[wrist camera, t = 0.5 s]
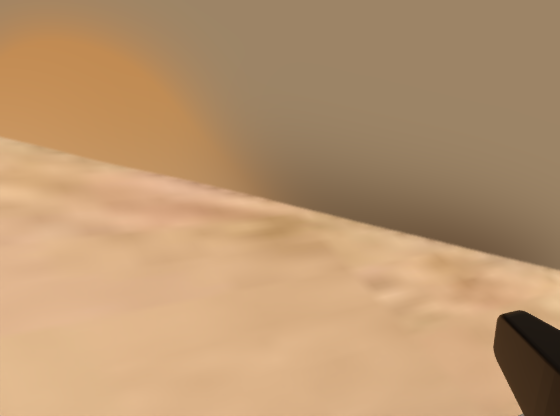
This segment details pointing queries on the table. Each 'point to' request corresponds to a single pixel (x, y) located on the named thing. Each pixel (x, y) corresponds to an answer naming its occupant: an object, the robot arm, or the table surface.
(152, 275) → the table surface
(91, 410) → the table surface
